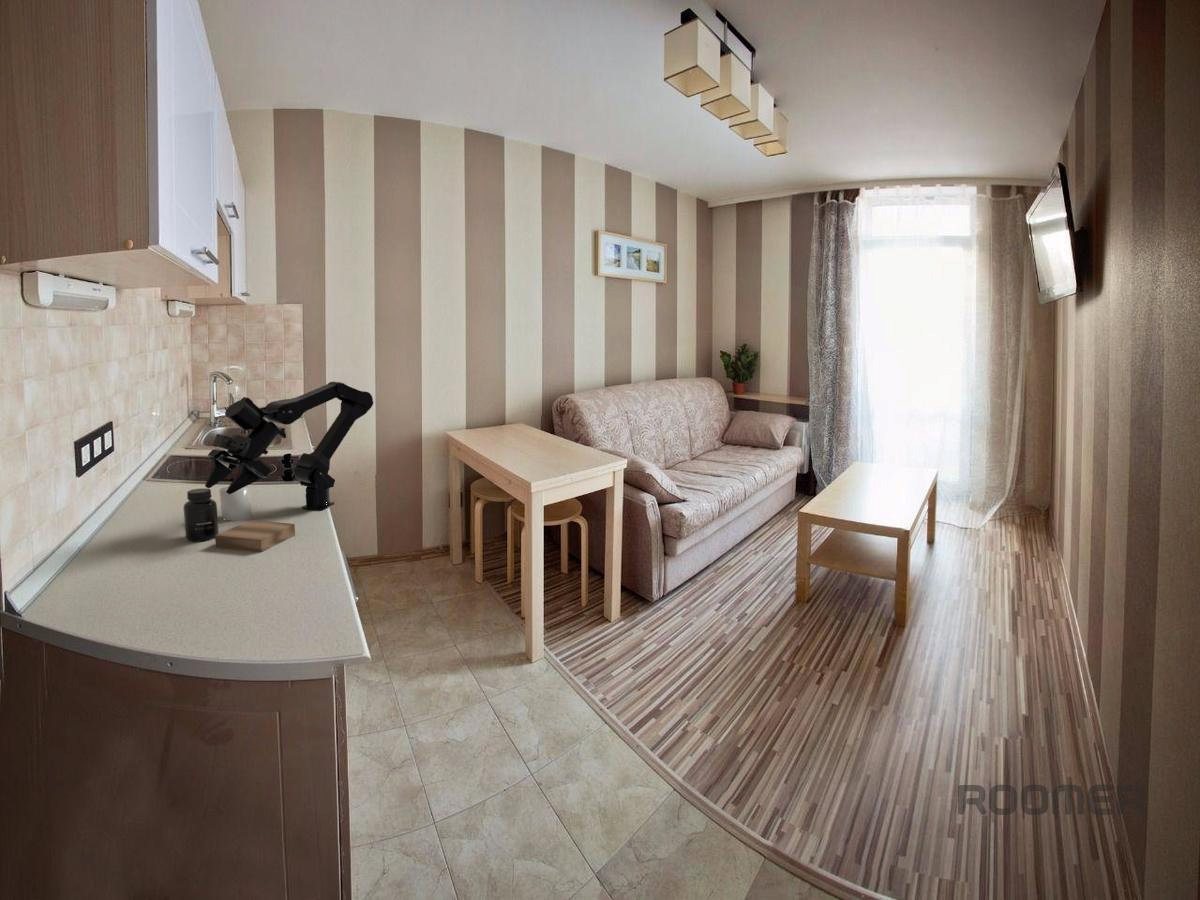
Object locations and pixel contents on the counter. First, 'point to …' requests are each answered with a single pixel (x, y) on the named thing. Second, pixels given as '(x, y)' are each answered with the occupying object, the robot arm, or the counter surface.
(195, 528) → the supplement bottle
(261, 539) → the walnut plinth
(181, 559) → the counter surface
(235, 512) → the white rounded block
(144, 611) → the counter surface
